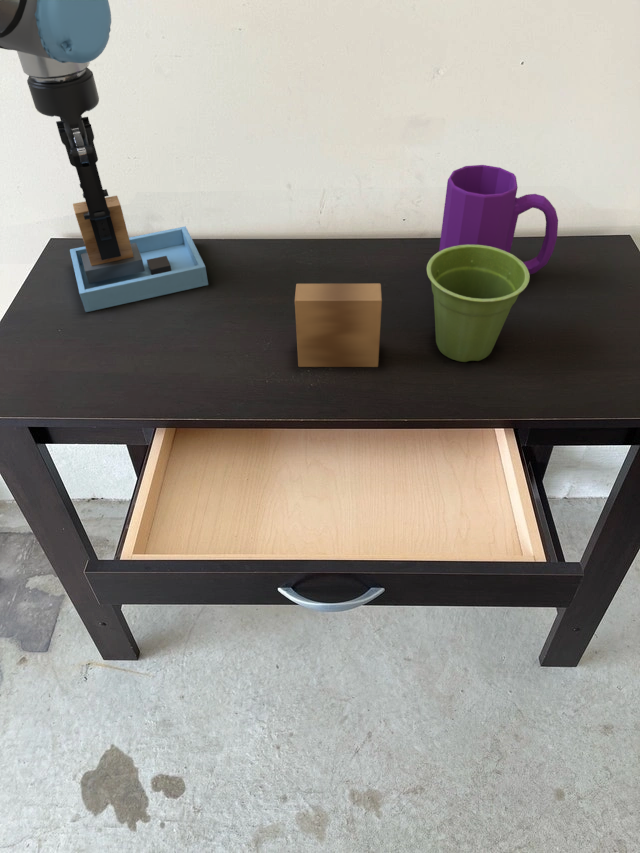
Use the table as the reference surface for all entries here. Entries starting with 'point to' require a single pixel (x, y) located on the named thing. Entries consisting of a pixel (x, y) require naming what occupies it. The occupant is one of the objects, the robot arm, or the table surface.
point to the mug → (492, 212)
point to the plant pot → (473, 297)
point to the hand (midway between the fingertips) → (109, 250)
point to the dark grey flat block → (159, 265)
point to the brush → (92, 260)
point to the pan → (143, 284)
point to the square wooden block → (338, 324)
